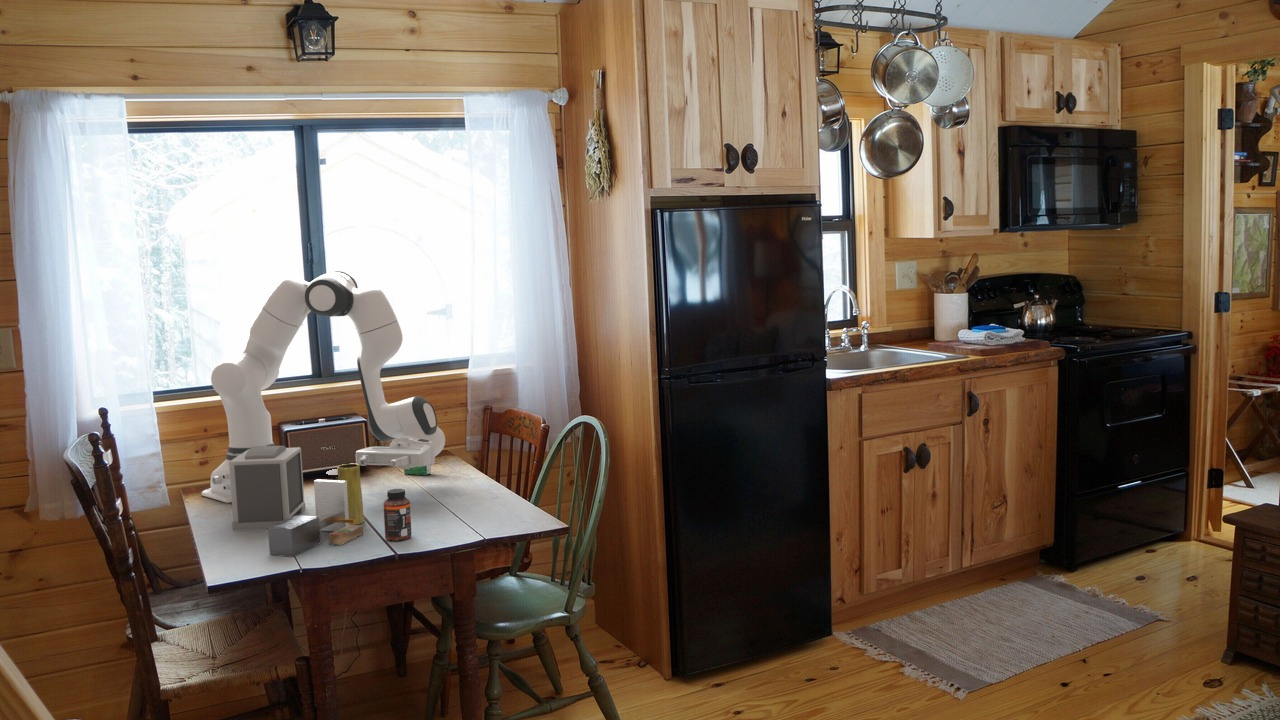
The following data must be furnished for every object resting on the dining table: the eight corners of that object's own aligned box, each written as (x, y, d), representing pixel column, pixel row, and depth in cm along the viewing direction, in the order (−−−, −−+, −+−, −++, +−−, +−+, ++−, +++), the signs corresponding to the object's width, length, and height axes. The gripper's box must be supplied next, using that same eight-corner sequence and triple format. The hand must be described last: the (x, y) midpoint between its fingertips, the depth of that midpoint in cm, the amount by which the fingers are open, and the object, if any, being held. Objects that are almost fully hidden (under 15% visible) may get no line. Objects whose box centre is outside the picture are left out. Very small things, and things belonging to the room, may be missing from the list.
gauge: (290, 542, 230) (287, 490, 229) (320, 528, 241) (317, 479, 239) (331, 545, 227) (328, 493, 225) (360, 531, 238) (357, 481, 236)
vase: (355, 526, 242) (351, 469, 241) (333, 525, 244) (330, 467, 243) (369, 520, 248) (366, 463, 247) (348, 518, 250) (345, 462, 248)
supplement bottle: (412, 540, 230) (410, 492, 229) (385, 543, 228) (383, 494, 227) (410, 533, 236) (408, 486, 234) (384, 536, 234) (382, 488, 233)
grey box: (254, 510, 261) (249, 441, 259) (306, 508, 262) (302, 439, 259) (231, 530, 242) (225, 455, 240) (287, 527, 243) (282, 453, 241)
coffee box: (432, 474, 297) (430, 430, 296) (427, 476, 295) (425, 432, 293) (409, 472, 300) (406, 429, 298) (403, 474, 297) (401, 431, 296)
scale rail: (329, 544, 228) (328, 534, 228) (352, 533, 237) (351, 523, 237) (340, 545, 227) (340, 535, 227) (363, 534, 236) (362, 524, 236)
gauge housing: (270, 554, 222) (268, 527, 221) (298, 541, 231) (296, 515, 230) (293, 556, 220) (291, 528, 219) (320, 543, 229) (318, 516, 229)
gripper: (371, 439, 273) (341, 449, 259) (438, 441, 266) (411, 451, 253) (373, 462, 273) (343, 473, 260) (440, 464, 267) (413, 476, 254)
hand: (377, 463), depth 257 cm, fingers open, 8 cm apart
